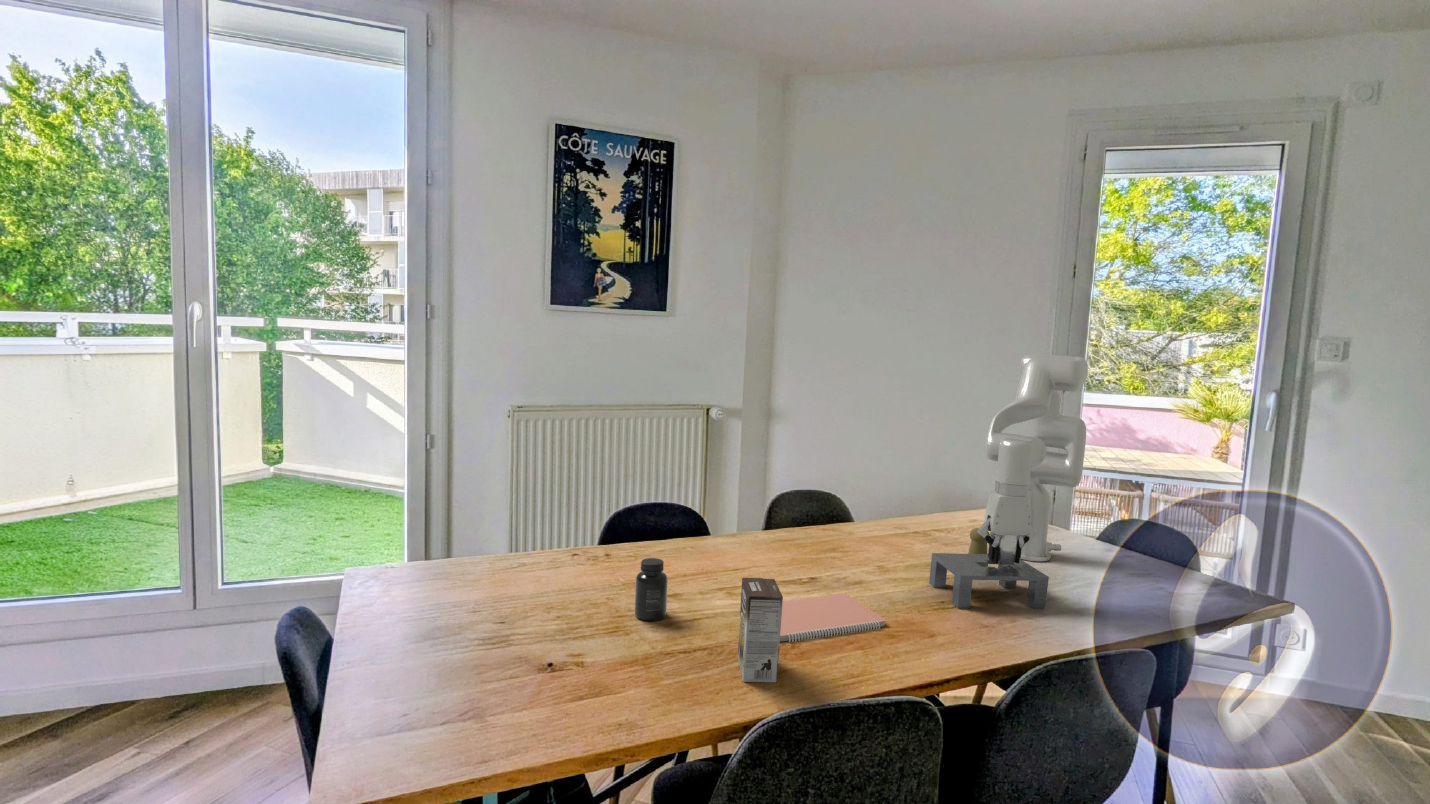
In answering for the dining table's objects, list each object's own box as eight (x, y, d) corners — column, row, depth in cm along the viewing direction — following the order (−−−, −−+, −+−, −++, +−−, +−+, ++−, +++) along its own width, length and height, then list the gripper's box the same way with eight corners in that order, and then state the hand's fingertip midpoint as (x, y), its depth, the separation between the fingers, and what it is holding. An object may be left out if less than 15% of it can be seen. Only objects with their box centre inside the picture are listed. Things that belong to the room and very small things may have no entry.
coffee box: (736, 658, 134) (741, 576, 132) (769, 658, 134) (775, 577, 133) (742, 682, 125) (747, 595, 123) (777, 683, 125) (783, 596, 124)
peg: (1006, 574, 176) (1011, 529, 175) (1017, 581, 172) (1022, 535, 170) (987, 573, 176) (992, 529, 175) (997, 581, 171) (1002, 535, 170)
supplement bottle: (671, 612, 153) (673, 559, 152) (658, 624, 147) (661, 569, 145) (642, 606, 155) (644, 554, 154) (628, 618, 149) (631, 563, 147)
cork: (984, 565, 197) (988, 527, 196) (990, 572, 191) (995, 533, 190) (962, 563, 198) (966, 525, 196) (968, 570, 192) (972, 531, 190)
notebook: (778, 647, 141) (779, 637, 140) (742, 613, 156) (742, 604, 156) (889, 630, 152) (889, 621, 151) (844, 600, 167) (845, 592, 167)
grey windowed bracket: (1009, 584, 183) (1012, 554, 182) (1045, 609, 167) (1048, 576, 166) (929, 583, 180) (931, 553, 179) (957, 608, 164) (960, 575, 164)
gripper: (1035, 486, 176) (1027, 556, 178) (971, 484, 174) (964, 555, 176) (1053, 494, 169) (1044, 567, 171) (986, 492, 167) (978, 566, 169)
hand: (1003, 560), depth 173 cm, fingers closed on peg, 5 cm apart
